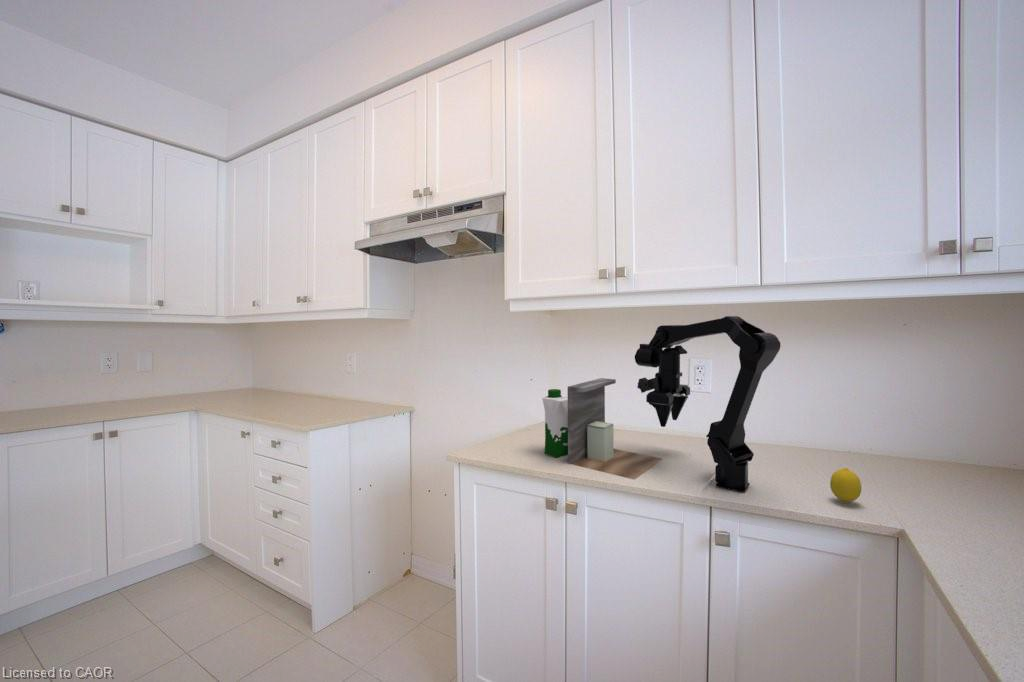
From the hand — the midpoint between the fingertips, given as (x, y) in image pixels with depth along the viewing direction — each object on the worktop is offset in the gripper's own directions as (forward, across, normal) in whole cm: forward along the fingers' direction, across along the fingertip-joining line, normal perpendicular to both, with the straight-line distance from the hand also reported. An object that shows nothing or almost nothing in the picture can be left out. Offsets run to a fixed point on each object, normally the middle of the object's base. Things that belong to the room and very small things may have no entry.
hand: (668, 423), depth 121 cm
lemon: (+12, +1, +40) cm, 42 cm away
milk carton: (+12, +11, -30) cm, 34 cm away
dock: (+12, +9, -12) cm, 19 cm away
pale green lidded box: (+11, +9, -17) cm, 22 cm away
